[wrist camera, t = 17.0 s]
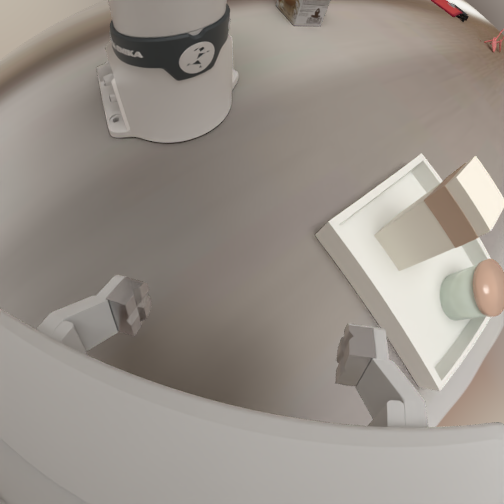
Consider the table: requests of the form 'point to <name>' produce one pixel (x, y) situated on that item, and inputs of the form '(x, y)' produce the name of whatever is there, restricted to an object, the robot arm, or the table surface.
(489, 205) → the juice carton
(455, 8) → the red board with handle
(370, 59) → the table surface
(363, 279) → the tray
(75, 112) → the table surface
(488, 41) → the figurine
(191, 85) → the robot arm
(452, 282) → the lidded jar
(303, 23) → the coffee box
